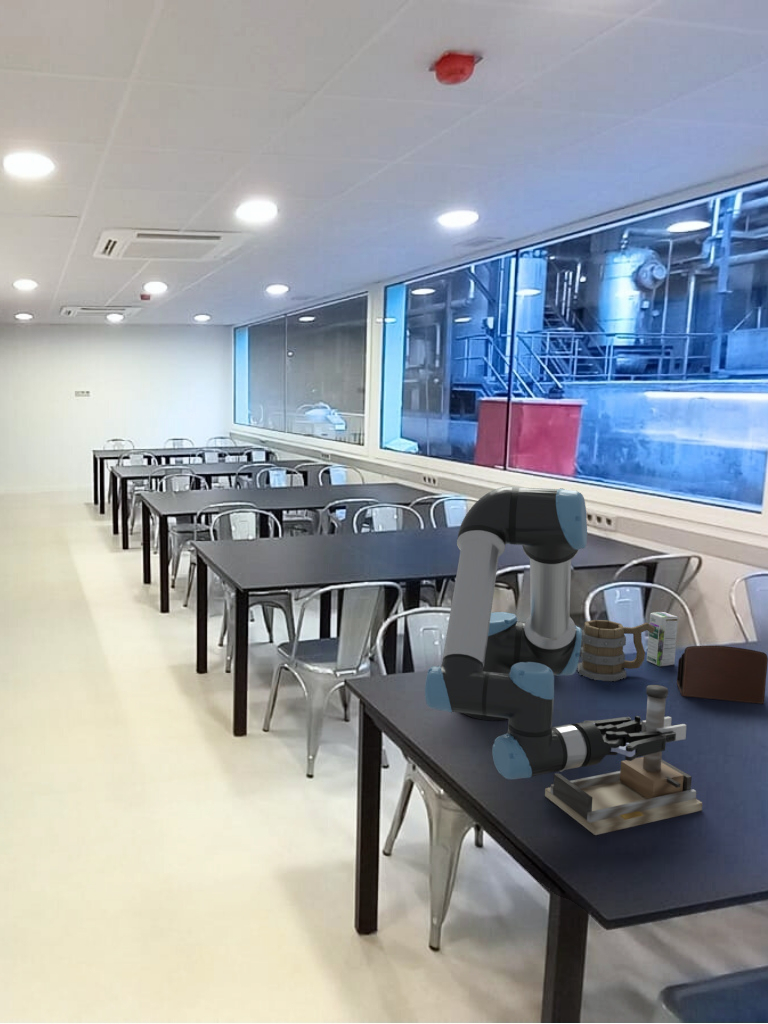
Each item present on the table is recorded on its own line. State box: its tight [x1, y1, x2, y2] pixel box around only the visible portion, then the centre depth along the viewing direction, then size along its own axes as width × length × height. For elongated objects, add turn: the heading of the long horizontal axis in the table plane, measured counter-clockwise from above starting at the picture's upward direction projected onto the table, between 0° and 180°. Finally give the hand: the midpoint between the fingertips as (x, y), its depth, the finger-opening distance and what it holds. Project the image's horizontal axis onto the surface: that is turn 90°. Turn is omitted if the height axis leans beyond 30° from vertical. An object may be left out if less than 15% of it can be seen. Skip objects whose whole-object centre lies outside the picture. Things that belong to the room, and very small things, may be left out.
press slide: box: [619, 684, 684, 799], centre depth 150 cm, size 7×12×20 cm, turn 23°
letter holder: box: [676, 645, 768, 705], centre depth 209 cm, size 10×20×14 cm, turn 77°
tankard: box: [577, 619, 655, 682], centre depth 222 cm, size 20×13×15 cm, turn 82°
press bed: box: [544, 759, 703, 836], centre depth 150 cm, size 24×15×6 cm, turn 113°
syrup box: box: [646, 611, 679, 667], centre depth 233 cm, size 6×6×14 cm
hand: (676, 727), depth 153 cm, fingers closed on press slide, 3 cm apart
